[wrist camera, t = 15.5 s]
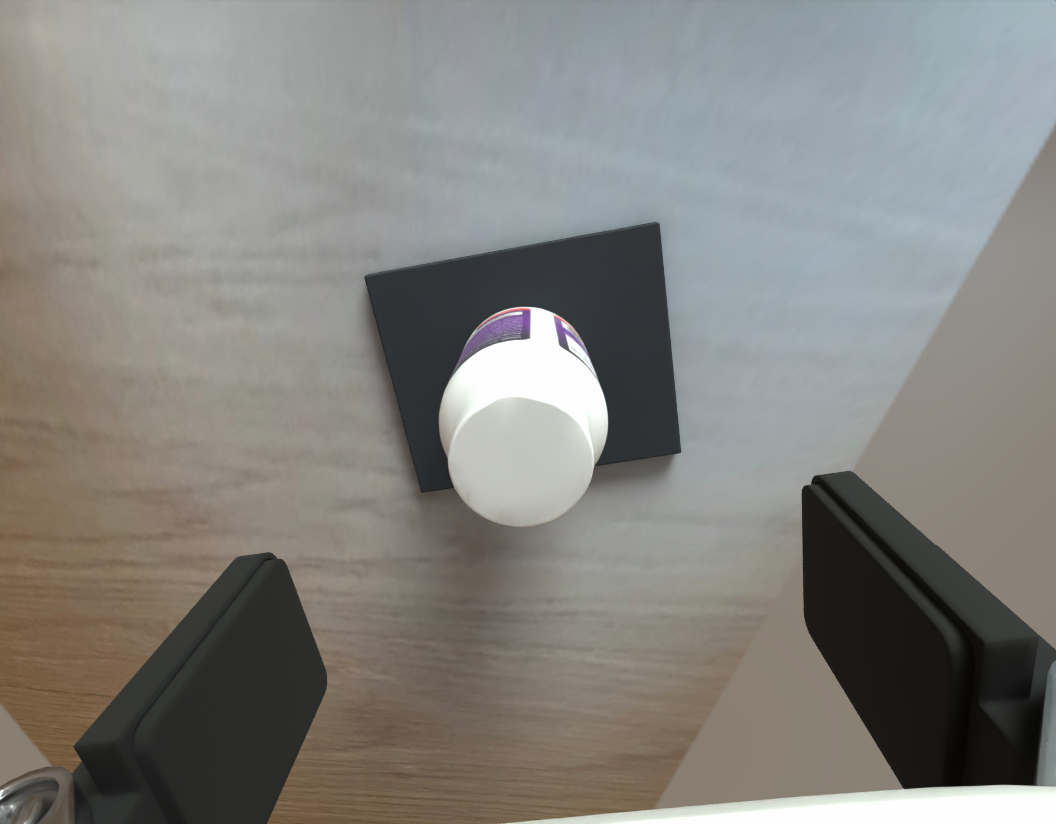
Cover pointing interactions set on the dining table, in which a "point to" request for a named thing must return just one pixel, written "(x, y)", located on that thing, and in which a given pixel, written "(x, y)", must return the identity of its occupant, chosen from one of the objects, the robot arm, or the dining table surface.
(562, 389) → the pill bottle
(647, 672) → the dining table surface
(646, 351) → the mat
